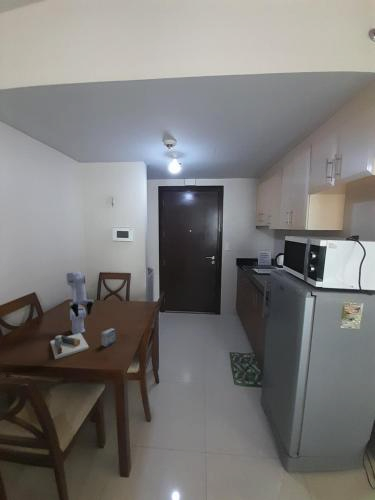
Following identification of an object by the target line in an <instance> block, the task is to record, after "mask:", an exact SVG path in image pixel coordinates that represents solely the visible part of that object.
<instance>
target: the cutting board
mask: <svg viewBox="0 0 375 500" xmlns="http://www.w3.org/2000/svg"><path fill="white" fill-rule="evenodd" d="M66 337H70V338H75V339H80V344H79V345H78V346H77V345H72V344H67V343H63V342H62V343H61V344H60V345H61V347H62V353H59V354H57V350H56V347H55V340H54V339H52V340H50V346H51V349H52V353H53V357H54V360H57V359H58V360H59V359H60V358H65V357H68V356H70V355H74V354H77V353H79V352H83V351H86V350H89V347H90V346H89V345H88V343H87V340H85V338H84V336H83V335H82V333H78V334H74V335H73V334H72V335H68V336H66Z"/></svg>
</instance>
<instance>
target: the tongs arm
mask: <svg viewBox="0 0 375 500" xmlns="http://www.w3.org/2000/svg"><path fill="white" fill-rule="evenodd" d="M60 338H62V342H63V343H67V344H72V345H77V346H78V345H79V344H80V339H75V338H70V337H67V336H66V335H62V334H61V335H60V334H59V335H56V336H55V337H54V339H60Z"/></svg>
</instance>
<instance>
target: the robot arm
mask: <svg viewBox="0 0 375 500" xmlns="http://www.w3.org/2000/svg"><path fill="white" fill-rule="evenodd" d="M66 283H67V286H70V288H71V289H70V290H71V295H72V301H70V302H69V306H70V310H69V318H70V319H69V320H70V321H72V322H71V323H72V324H71V325H72V326H71V329H70V330H71V332H72V335H75V334H79V333H81V334H82V333H85V332H86V329H85V325H84V324H85V322H84V319H85V318H86V316H89V315H91V313H92V312H91V311H92V308H93V305H94V299H87V292H86V277H85V275H82V272H81V271H77V272H76V271H75V272H67V273H66ZM83 305H85V307H84V306H83ZM85 308H86V309H85ZM86 311H87V312H86Z"/></svg>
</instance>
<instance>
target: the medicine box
mask: <svg viewBox="0 0 375 500" xmlns="http://www.w3.org/2000/svg"><path fill="white" fill-rule="evenodd" d="M100 335H101V337H100V338H101V339H100V340H101V346H104V347H109V346H111V345H112V344H114V343H116V341H117V340H116V329H115V328H112V327H110V328H108V329H106V330H103V331H102V332H100Z"/></svg>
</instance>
